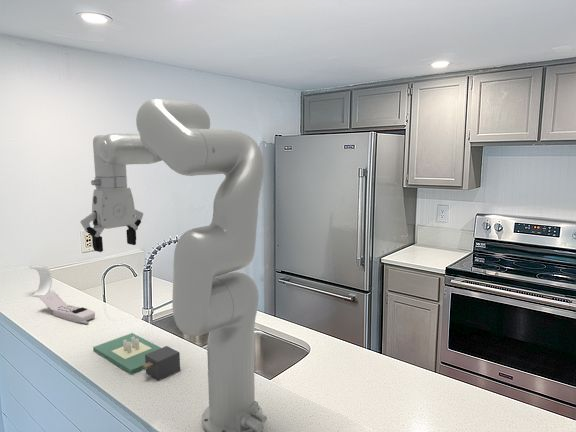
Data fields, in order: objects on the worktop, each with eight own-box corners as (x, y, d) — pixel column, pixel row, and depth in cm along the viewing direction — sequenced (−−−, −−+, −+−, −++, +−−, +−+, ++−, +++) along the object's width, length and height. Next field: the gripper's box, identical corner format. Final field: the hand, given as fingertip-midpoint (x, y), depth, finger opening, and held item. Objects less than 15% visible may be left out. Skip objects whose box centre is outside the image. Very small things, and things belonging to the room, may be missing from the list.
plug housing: (180, 370, 109) (179, 352, 108) (151, 384, 103) (150, 365, 102) (167, 363, 113) (166, 345, 112) (138, 376, 106) (137, 357, 105)
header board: (171, 357, 116) (170, 342, 115) (131, 374, 107) (130, 359, 106) (132, 336, 129) (131, 323, 128) (93, 350, 120) (92, 337, 119)
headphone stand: (32, 297, 163) (29, 266, 162) (42, 291, 169) (39, 262, 168) (43, 297, 163) (41, 267, 161) (53, 292, 169) (50, 262, 167)
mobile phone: (53, 291, 153) (99, 303, 141) (55, 307, 154) (100, 319, 142) (37, 296, 148) (83, 309, 136) (39, 312, 149) (84, 326, 137)
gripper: (87, 186, 101) (92, 256, 103) (148, 182, 115) (151, 243, 117) (70, 184, 105) (76, 252, 108) (132, 180, 119) (135, 240, 122)
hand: (115, 247), depth 112 cm, fingers open, 9 cm apart
